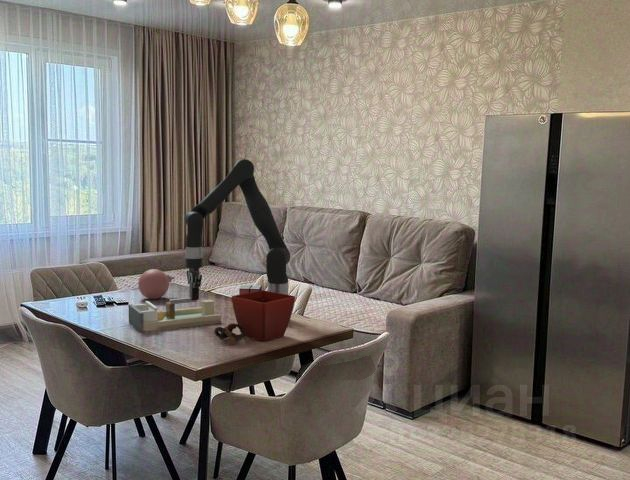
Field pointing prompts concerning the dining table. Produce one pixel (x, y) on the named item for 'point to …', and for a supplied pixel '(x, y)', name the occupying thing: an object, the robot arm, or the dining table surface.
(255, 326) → the plant pot
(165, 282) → the balloon
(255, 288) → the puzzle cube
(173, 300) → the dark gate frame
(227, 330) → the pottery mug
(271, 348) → the dining table surface
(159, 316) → the ball
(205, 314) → the tray with compartments
